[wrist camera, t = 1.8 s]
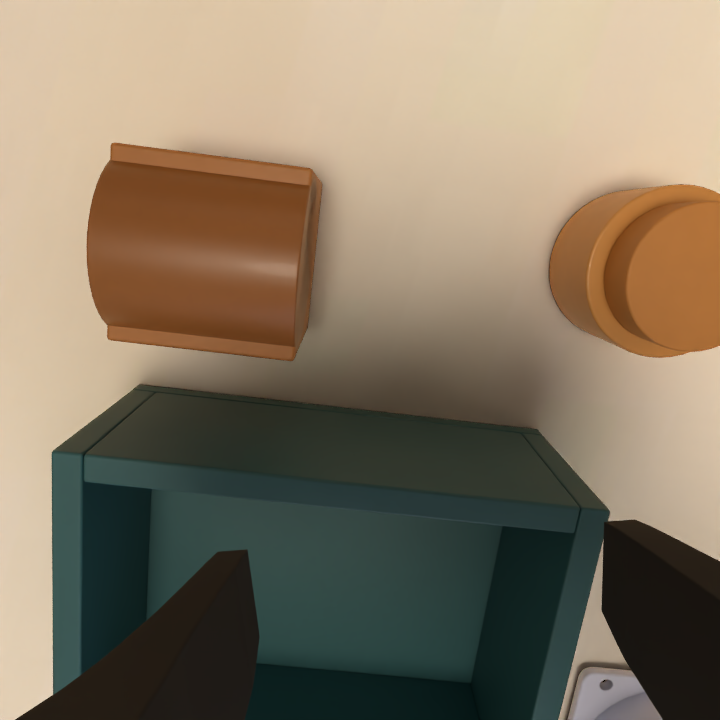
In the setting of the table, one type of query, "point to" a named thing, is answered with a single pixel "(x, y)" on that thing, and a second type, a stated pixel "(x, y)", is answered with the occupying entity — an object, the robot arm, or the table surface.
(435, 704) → the dark green open box
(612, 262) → the round bread
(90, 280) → the square bread
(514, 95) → the table surface
